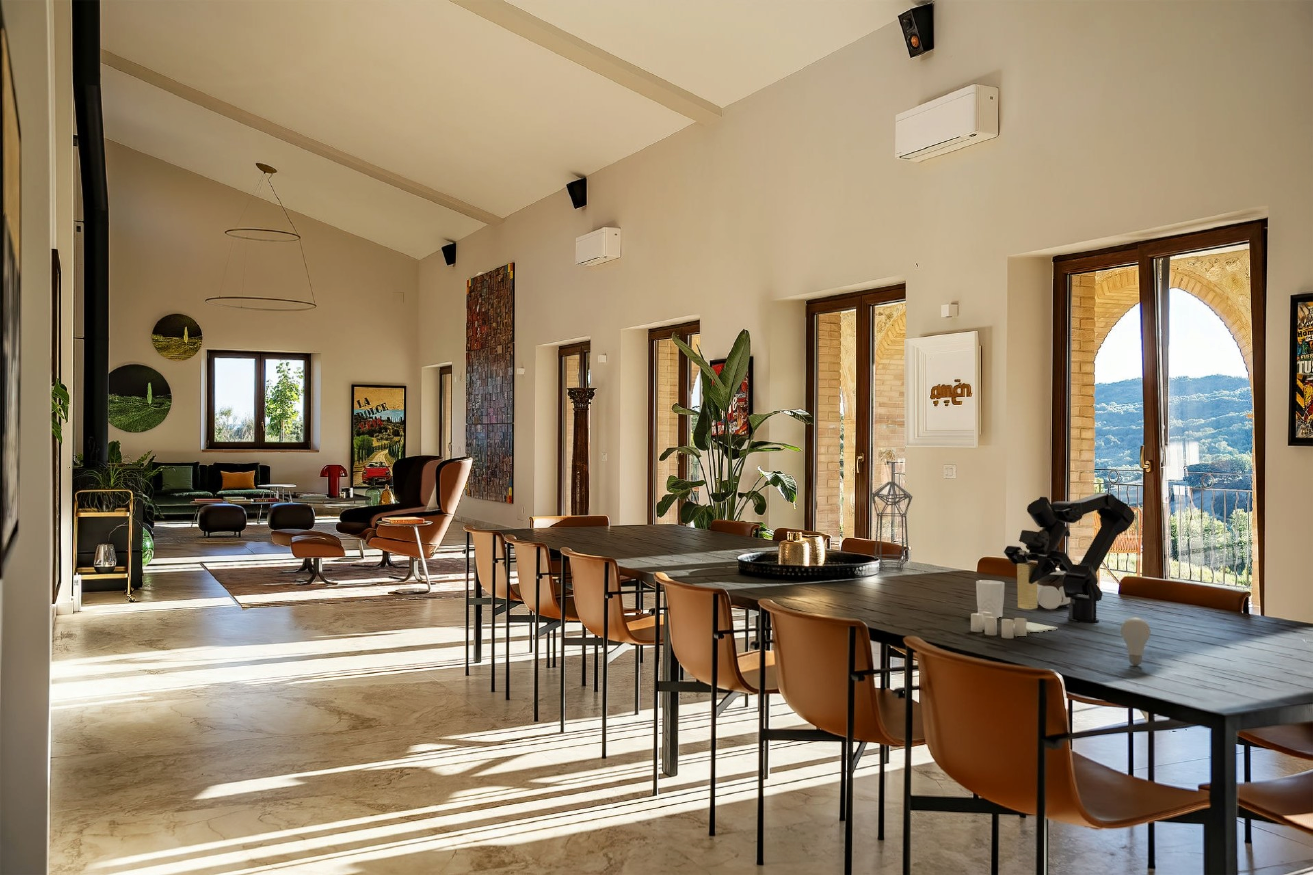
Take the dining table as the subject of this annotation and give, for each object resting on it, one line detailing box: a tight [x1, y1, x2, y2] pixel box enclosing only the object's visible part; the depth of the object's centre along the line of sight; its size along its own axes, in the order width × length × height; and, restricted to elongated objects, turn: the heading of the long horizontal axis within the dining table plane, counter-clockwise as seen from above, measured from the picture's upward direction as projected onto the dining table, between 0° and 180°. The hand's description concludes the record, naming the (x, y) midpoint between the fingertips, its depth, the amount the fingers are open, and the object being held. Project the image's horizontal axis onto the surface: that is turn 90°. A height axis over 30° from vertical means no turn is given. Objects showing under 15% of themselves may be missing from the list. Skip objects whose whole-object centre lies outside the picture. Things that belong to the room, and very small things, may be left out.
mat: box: [1027, 621, 1058, 633], centre depth 275 cm, size 10×10×1 cm
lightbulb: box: [1120, 617, 1151, 667], centre depth 230 cm, size 6×6×11 cm
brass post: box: [1016, 562, 1038, 610], centre depth 275 cm, size 4×4×12 cm
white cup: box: [975, 579, 1005, 619], centre depth 294 cm, size 8×8×10 cm
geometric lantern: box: [870, 480, 913, 571], centre depth 400 cm, size 16×16×35 cm
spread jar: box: [1037, 567, 1070, 610], centre depth 311 cm, size 12×11×12 cm
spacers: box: [970, 612, 1028, 639], centre depth 268 cm, size 8×14×4 cm, turn 32°
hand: (1024, 581), depth 274 cm, fingers closed on brass post, 4 cm apart
